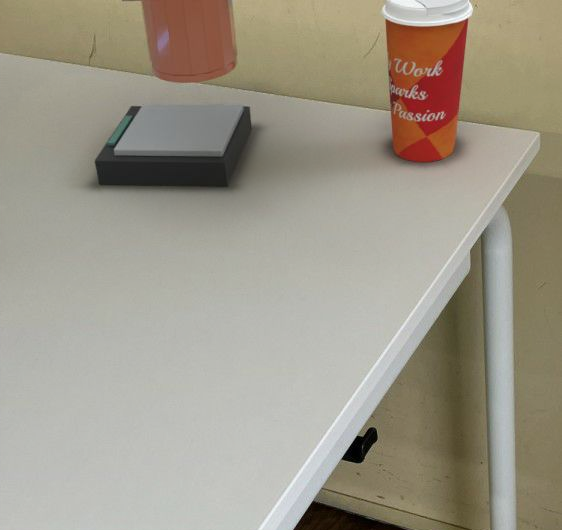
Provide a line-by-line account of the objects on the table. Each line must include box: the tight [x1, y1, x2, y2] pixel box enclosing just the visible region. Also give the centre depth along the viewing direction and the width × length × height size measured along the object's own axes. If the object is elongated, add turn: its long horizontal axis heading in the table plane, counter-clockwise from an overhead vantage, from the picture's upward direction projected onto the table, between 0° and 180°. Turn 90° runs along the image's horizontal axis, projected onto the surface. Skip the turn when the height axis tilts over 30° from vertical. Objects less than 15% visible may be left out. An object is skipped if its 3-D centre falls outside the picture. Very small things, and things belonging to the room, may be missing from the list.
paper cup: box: [380, 0, 474, 163], centre depth 89 cm, size 8×8×14 cm
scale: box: [94, 103, 253, 187], centre depth 94 cm, size 12×12×3 cm
